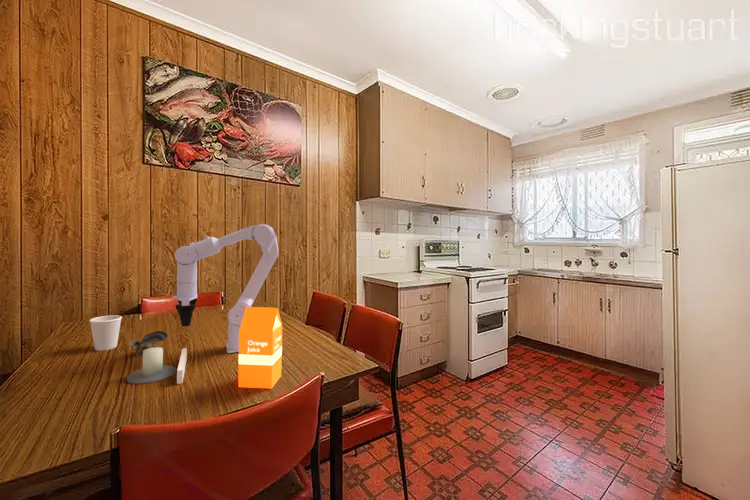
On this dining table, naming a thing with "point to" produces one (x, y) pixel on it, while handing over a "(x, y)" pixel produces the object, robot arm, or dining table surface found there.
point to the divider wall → (181, 366)
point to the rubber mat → (140, 379)
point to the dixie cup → (105, 331)
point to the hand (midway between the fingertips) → (186, 323)
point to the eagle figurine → (148, 341)
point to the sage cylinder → (152, 361)
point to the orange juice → (260, 348)
